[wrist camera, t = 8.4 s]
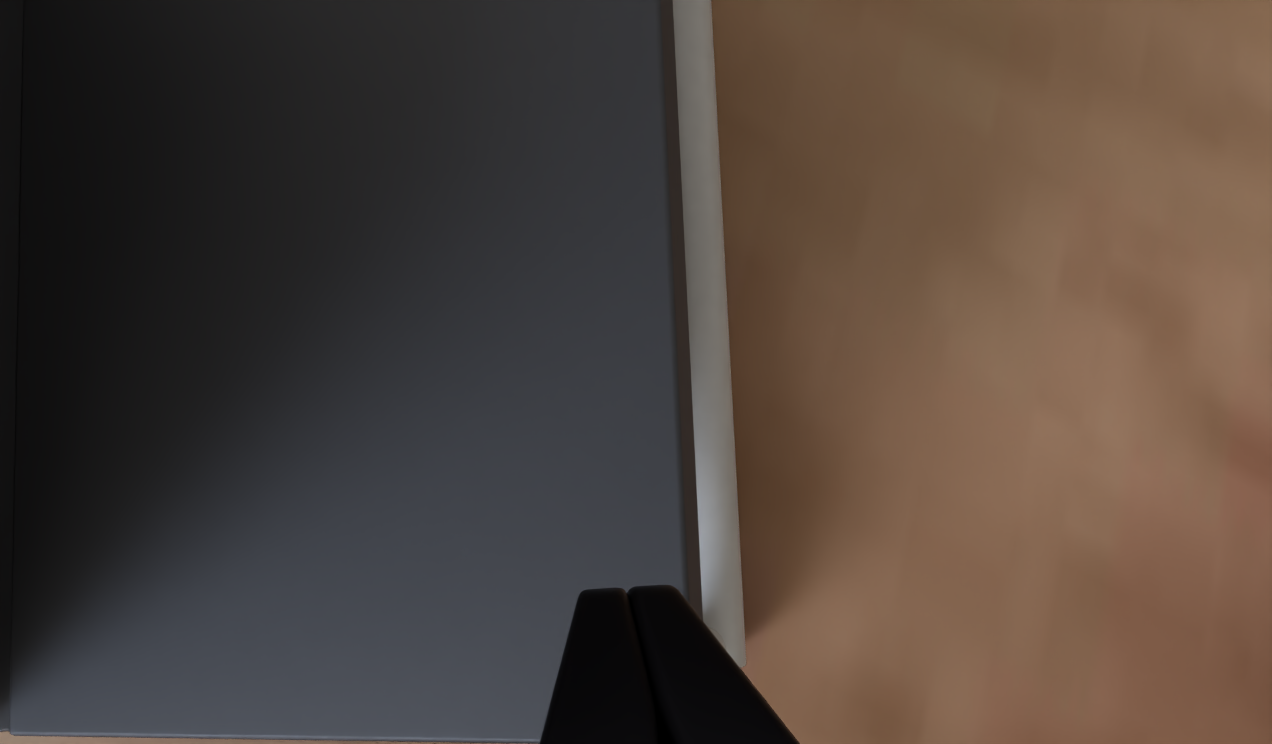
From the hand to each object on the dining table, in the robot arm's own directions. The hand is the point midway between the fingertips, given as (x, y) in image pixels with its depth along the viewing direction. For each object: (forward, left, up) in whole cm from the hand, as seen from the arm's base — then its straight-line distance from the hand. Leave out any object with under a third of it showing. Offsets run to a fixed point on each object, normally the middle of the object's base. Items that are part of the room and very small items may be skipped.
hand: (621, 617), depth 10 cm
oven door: (+5, +7, -13) cm, 15 cm away
